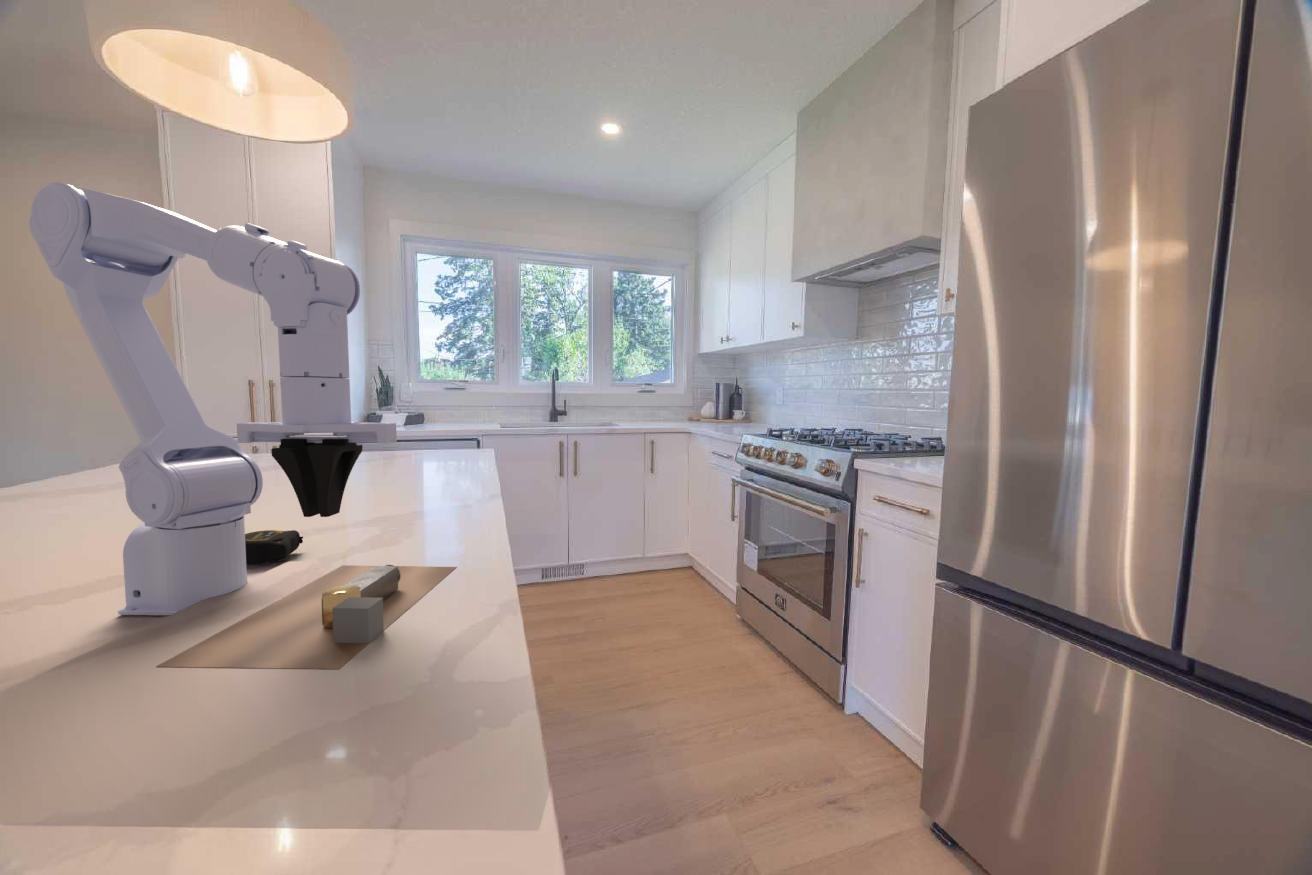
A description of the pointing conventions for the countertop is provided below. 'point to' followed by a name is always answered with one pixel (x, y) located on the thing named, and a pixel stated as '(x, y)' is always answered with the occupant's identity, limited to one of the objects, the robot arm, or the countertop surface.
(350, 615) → the block
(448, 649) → the countertop surface
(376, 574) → the gold-capped grey rod
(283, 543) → the tape measure
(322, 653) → the wooden board
